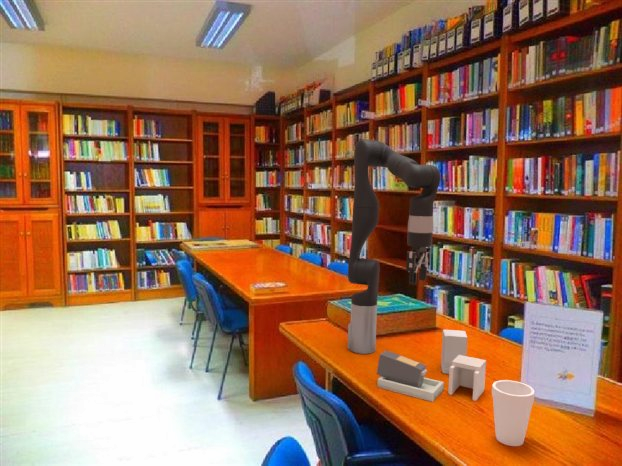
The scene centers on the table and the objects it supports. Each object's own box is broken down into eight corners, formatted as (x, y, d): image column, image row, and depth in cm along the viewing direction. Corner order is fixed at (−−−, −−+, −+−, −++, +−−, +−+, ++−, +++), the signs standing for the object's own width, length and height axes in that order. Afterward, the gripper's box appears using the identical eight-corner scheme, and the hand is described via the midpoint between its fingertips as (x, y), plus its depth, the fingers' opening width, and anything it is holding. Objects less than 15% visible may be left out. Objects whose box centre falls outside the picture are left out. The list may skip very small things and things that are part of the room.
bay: (448, 393, 149) (449, 363, 148) (457, 383, 157) (459, 354, 156) (476, 400, 145) (478, 369, 144) (484, 390, 153) (486, 360, 152)
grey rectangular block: (419, 391, 149) (423, 370, 147) (376, 374, 156) (380, 353, 154) (424, 386, 152) (428, 365, 151) (382, 369, 159) (386, 349, 158)
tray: (377, 387, 153) (377, 379, 153) (390, 377, 161) (390, 369, 161) (432, 401, 144) (433, 393, 144) (443, 390, 152) (443, 382, 152)
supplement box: (465, 375, 164) (468, 337, 162) (441, 373, 165) (443, 335, 164) (463, 367, 171) (465, 330, 169) (440, 365, 172) (442, 328, 171)
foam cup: (526, 454, 118) (530, 400, 116) (485, 442, 123) (488, 390, 121) (533, 436, 126) (537, 385, 124) (494, 426, 131) (497, 377, 129)
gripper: (423, 233, 149) (421, 288, 151) (439, 229, 161) (437, 280, 163) (399, 231, 153) (397, 284, 155) (416, 227, 165) (414, 277, 167)
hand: (417, 282), depth 159 cm, fingers open, 8 cm apart
